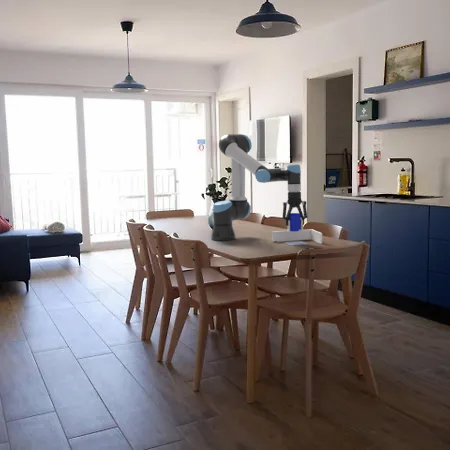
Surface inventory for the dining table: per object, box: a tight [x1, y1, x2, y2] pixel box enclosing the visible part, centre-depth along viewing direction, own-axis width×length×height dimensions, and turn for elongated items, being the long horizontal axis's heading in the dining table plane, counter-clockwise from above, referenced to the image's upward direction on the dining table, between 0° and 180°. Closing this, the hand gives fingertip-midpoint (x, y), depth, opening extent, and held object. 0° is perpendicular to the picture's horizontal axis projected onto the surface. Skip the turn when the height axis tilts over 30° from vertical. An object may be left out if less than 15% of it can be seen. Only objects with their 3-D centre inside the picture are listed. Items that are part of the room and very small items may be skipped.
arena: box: [271, 228, 323, 245], centre depth 310 cm, size 25×17×6 cm
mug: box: [289, 212, 301, 231], centre depth 306 cm, size 8×12×10 cm
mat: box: [281, 240, 309, 247], centre depth 308 cm, size 11×15×1 cm
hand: (295, 230), depth 307 cm, fingers closed on mug, 7 cm apart
